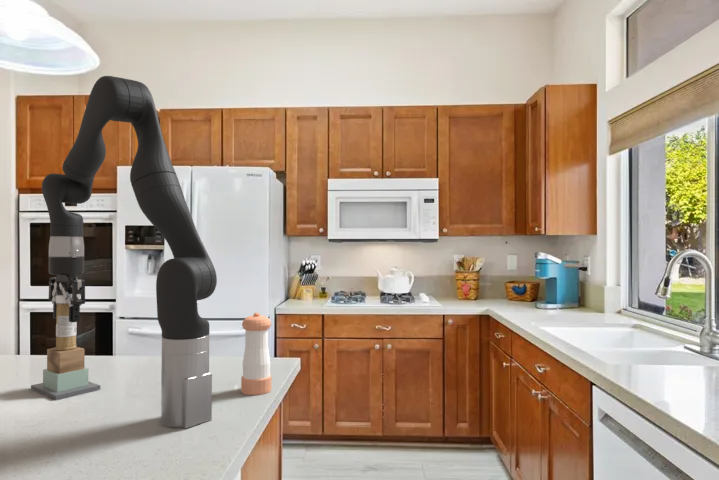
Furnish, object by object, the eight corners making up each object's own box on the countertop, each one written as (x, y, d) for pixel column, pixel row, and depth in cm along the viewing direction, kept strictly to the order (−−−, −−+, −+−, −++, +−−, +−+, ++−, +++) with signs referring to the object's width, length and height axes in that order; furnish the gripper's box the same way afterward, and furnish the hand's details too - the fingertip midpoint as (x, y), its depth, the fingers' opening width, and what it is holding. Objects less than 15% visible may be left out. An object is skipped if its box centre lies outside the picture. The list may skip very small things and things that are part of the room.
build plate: (100, 389, 118) (100, 369, 118) (56, 400, 110) (56, 378, 110) (74, 380, 126) (74, 361, 126) (30, 389, 118) (31, 369, 118)
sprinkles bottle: (61, 347, 120) (61, 293, 120) (80, 346, 121) (80, 293, 121) (51, 351, 116) (51, 295, 116) (71, 350, 116) (71, 295, 116)
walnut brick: (84, 368, 118) (84, 348, 119) (59, 373, 114) (60, 352, 114) (71, 364, 123) (71, 345, 123) (47, 369, 118) (47, 349, 118)
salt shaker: (277, 390, 118) (277, 312, 118) (252, 397, 112) (252, 315, 113) (260, 384, 123) (260, 309, 123) (235, 390, 117) (235, 312, 118)
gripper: (37, 254, 120) (37, 319, 119) (63, 255, 111) (62, 325, 111) (69, 254, 126) (69, 316, 126) (96, 255, 117) (95, 321, 117)
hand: (66, 320), depth 118 cm, fingers open, 8 cm apart
